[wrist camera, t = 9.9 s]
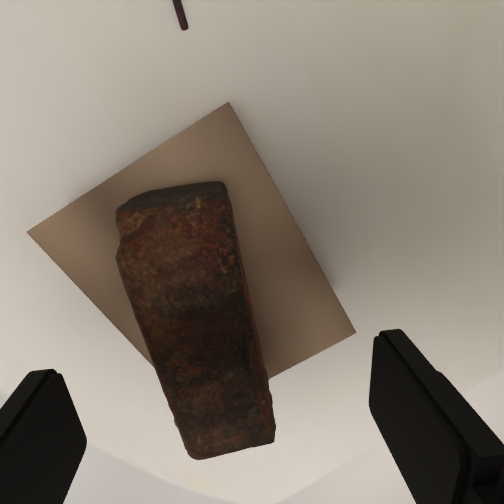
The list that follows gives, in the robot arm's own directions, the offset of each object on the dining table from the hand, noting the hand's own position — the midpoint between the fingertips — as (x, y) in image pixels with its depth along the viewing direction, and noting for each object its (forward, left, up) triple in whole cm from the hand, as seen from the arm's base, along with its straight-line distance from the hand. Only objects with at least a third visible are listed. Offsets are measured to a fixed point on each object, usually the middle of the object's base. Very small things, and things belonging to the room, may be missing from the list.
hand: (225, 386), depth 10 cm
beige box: (+1, 0, -11) cm, 11 cm away
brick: (+1, 0, -7) cm, 7 cm away
